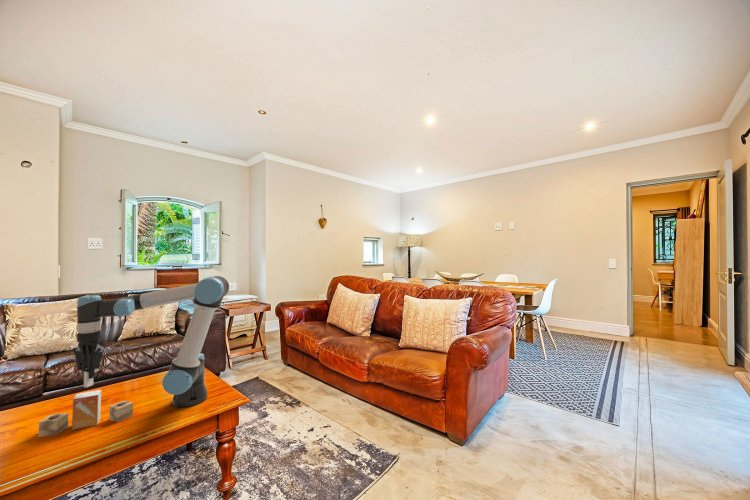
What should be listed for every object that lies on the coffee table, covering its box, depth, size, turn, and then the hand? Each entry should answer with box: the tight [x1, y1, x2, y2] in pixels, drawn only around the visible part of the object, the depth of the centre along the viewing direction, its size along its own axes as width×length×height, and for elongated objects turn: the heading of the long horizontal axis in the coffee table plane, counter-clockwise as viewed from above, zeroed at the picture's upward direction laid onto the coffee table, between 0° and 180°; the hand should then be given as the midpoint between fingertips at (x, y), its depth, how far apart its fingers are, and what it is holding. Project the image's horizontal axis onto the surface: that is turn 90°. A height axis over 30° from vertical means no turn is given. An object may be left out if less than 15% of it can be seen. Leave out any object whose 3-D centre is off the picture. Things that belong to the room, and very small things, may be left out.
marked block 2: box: [108, 400, 134, 423], centre depth 136 cm, size 6×6×6 cm
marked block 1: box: [38, 412, 70, 438], centre depth 125 cm, size 6×6×6 cm
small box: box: [71, 389, 102, 431], centre depth 130 cm, size 8×6×13 cm
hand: (88, 385), depth 131 cm, fingers closed
